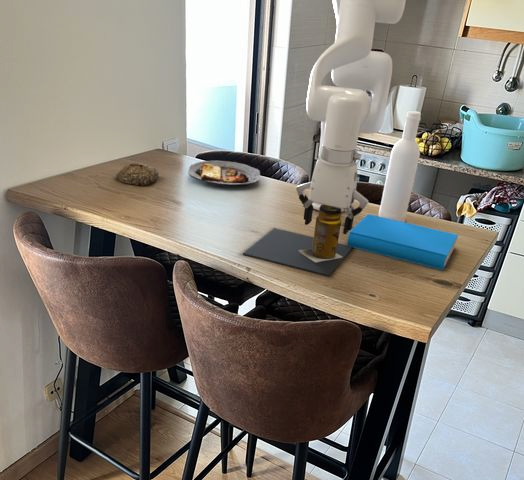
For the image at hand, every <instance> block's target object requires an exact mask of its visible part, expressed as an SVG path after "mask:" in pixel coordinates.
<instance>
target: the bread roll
mask: <svg viewBox="0 0 524 480" xmlns="http://www.w3.org/2000/svg"><path fill="white" fill-rule="evenodd" d="M115 178H116V180H118V181H120V182H121V183H124V184H127V185H134V186H137V187H138V186H139V187H144V186H147V185H150V184H152V183H154V182H155V181H157V179H158V178H159V172H158V171H157V169H156V168H155V167H153V166H149V165H148V164H145V163H137V162H136V163H135V162H133V163H129V164H126V165H124V166H123V168H121V169H120V170H119V171H118V172H117V173H116V174H115Z"/></svg>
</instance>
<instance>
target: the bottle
mask: <svg viewBox="0 0 524 480" xmlns="http://www.w3.org/2000/svg"><path fill="white" fill-rule="evenodd" d="M421 116H422V113H421V112H420V111H417V110H408V111H407V113H406V115H405V120H404V121H405V122H404V127H403V132H402V136H401V138H400V139H399V140H397V141H396V142H395V144H394V145H393V147H392V149H391V152H390V158H389V161H388V166H387V170H386V171H387V172H386V177H385V181H384V182H385V183H384V186H383V191H382V196H381V201H380V206H379V210H378V216H379V217H383V218H387V219H392V220H396V221H400V222H405V223H406V220H407V219H406V218H407V215H408V209H409V204H410V200H411V195H412V191H413V186H414V183H415V179H416V178H415V177H416V173H417V169H418V165H419V160H420V156H421V150H420V149H421V148H420V145H419V144H418V142H417V140H416V138H417V134H418V130H419V126H420V125H419V124H420V122H421V119H422V118H421Z"/></svg>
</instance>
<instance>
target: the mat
mask: <svg viewBox="0 0 524 480" xmlns="http://www.w3.org/2000/svg"><path fill="white" fill-rule="evenodd" d="M313 238H314V236H310V235H305V234H301V233H298V232H297V233H296V232H292V231H288V230H284V229H280V228H276V227H275V228H273V229H272V230H270V231H269V232H267V233H266V234H265V235H264V236H262V237H261V238H260V239H259V240H258V241H256V242H255V243H254V244H252V246H250V247H249V248H247V249H246V250H245V251H244V252H242V255H243V256H247V257H250V258H255V259H258V260H263V261H266V262H270V263H274V264H278V265H281V266H286V267H290V268H294V269H297V270H301V271H306V272H309V273H313V274H317V275H322V276H325V277H328V278H330V276H331V275H332V274H333V273H334V272H335V271H336V270H337V268H338V267H339V266H340V264H342V262H343V261H344V260H345V258H346V257H348V255H349V254H350V252H351V251H352V250H353V249H354V247H352V246H348V245H347V244H345V243H344V244H343V243H339V242H338V244H337V250H336V253H337V254H339V255H341V256H342V258H338V259H332V260H325V261H321V262H314V261H312V260H311V259H309V258H308V257H306V256H304V255H303V254H302V253H300V252H299V251H298V250H305V249H309V248H312V245H313Z"/></svg>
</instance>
